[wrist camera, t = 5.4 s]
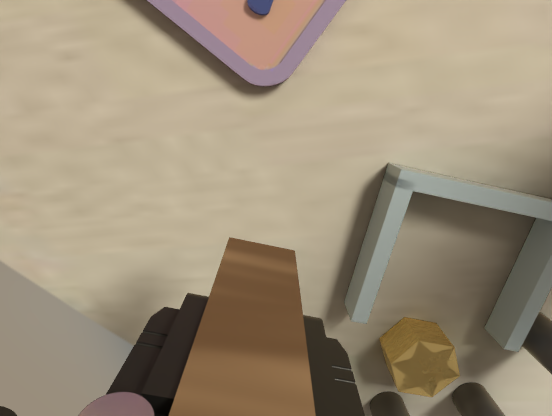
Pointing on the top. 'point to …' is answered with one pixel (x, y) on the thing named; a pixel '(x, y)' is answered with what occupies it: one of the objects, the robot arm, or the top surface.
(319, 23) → the icon
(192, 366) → the wooden block stand
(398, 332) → the yellow wooden hexagonal block
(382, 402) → the spacers
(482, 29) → the top surface
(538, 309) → the grey u-shaped bracket
